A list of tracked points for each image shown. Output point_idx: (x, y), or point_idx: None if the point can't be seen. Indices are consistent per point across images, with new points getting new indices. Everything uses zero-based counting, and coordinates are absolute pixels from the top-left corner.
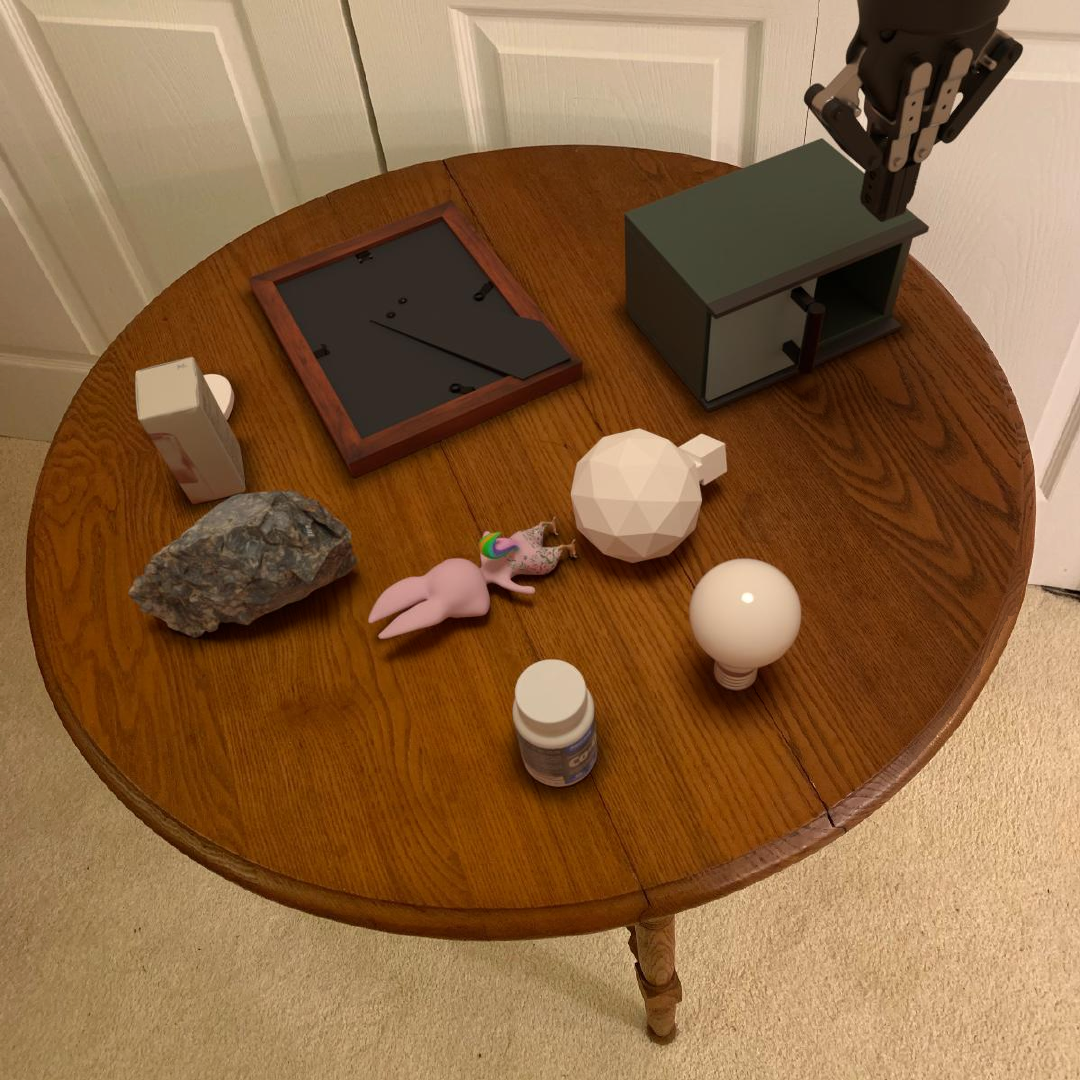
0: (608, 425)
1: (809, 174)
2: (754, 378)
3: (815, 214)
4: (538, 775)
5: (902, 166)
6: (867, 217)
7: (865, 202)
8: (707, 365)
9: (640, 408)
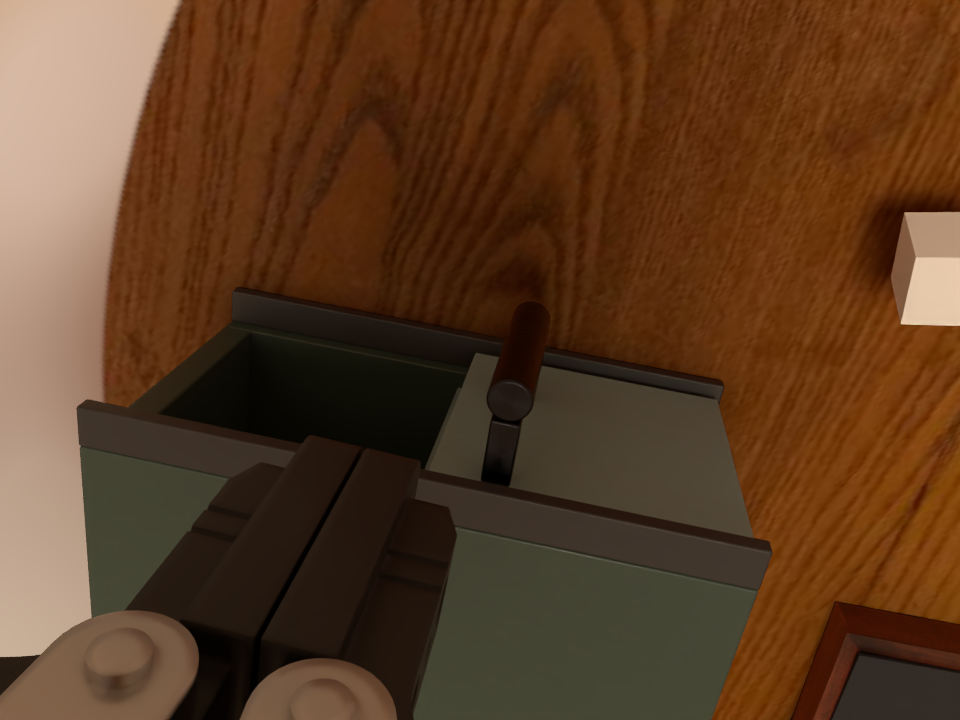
0: (902, 486)
1: None
2: (599, 380)
3: None
4: None
5: (292, 664)
6: (188, 530)
7: (445, 589)
8: None
9: (816, 476)
